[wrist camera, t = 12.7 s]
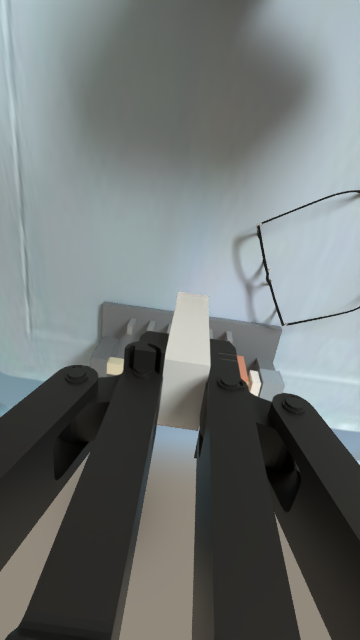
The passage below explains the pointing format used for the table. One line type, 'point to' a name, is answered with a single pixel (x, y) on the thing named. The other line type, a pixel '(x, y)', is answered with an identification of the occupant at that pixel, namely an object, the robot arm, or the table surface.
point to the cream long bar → (258, 383)
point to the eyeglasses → (269, 268)
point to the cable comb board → (134, 321)
